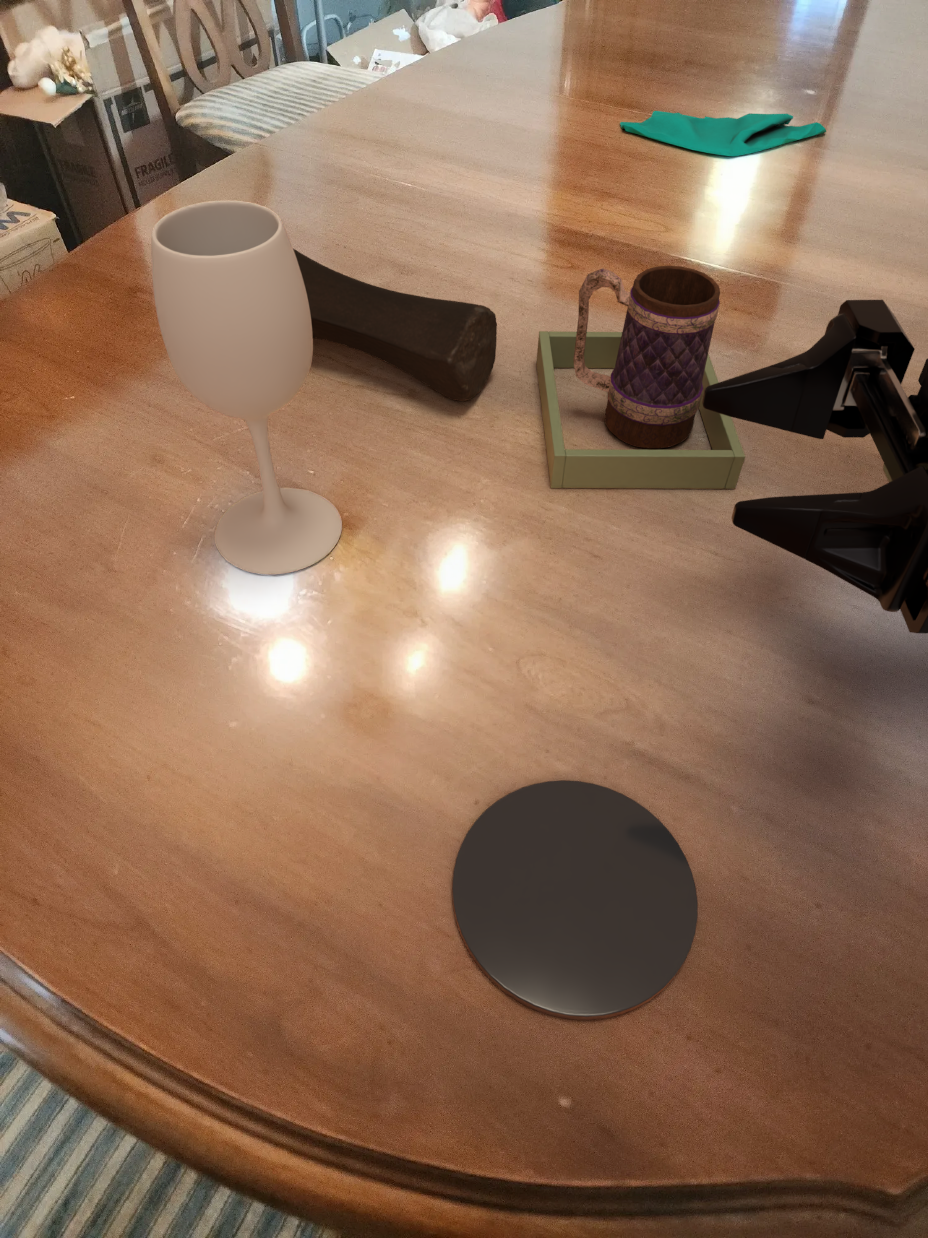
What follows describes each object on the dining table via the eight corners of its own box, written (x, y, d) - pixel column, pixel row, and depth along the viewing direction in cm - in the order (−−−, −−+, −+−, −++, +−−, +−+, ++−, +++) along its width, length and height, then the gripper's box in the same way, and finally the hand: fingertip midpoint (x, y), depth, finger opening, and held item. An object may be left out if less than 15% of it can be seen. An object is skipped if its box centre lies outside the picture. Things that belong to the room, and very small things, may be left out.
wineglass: (345, 489, 62) (310, 190, 46) (338, 575, 56) (295, 267, 41) (225, 490, 62) (148, 190, 46) (205, 577, 56) (110, 268, 40)
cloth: (613, 147, 105) (615, 127, 103) (624, 108, 114) (626, 89, 112) (831, 169, 102) (837, 148, 100) (824, 127, 111) (830, 107, 109)
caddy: (693, 363, 74) (701, 332, 71) (735, 489, 63) (746, 456, 60) (536, 362, 73) (538, 330, 71) (550, 488, 62) (554, 455, 60)
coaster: (673, 785, 46) (675, 779, 46) (718, 1020, 38) (721, 1016, 38) (452, 785, 46) (452, 779, 46) (451, 1021, 38) (452, 1017, 38)
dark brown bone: (188, 345, 78) (464, 456, 73) (135, 276, 68) (451, 399, 63) (243, 247, 80) (516, 349, 75) (199, 165, 70) (512, 277, 65)
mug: (697, 407, 69) (735, 264, 60) (686, 460, 65) (724, 313, 56) (574, 385, 71) (593, 242, 62) (555, 434, 67) (571, 288, 58)
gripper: (1053, 191, 40) (717, 197, 41) (1296, 418, 28) (804, 419, 29) (960, 397, 48) (682, 398, 49) (1116, 644, 36) (737, 640, 37)
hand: (717, 450), depth 41 cm, fingers open, 9 cm apart
